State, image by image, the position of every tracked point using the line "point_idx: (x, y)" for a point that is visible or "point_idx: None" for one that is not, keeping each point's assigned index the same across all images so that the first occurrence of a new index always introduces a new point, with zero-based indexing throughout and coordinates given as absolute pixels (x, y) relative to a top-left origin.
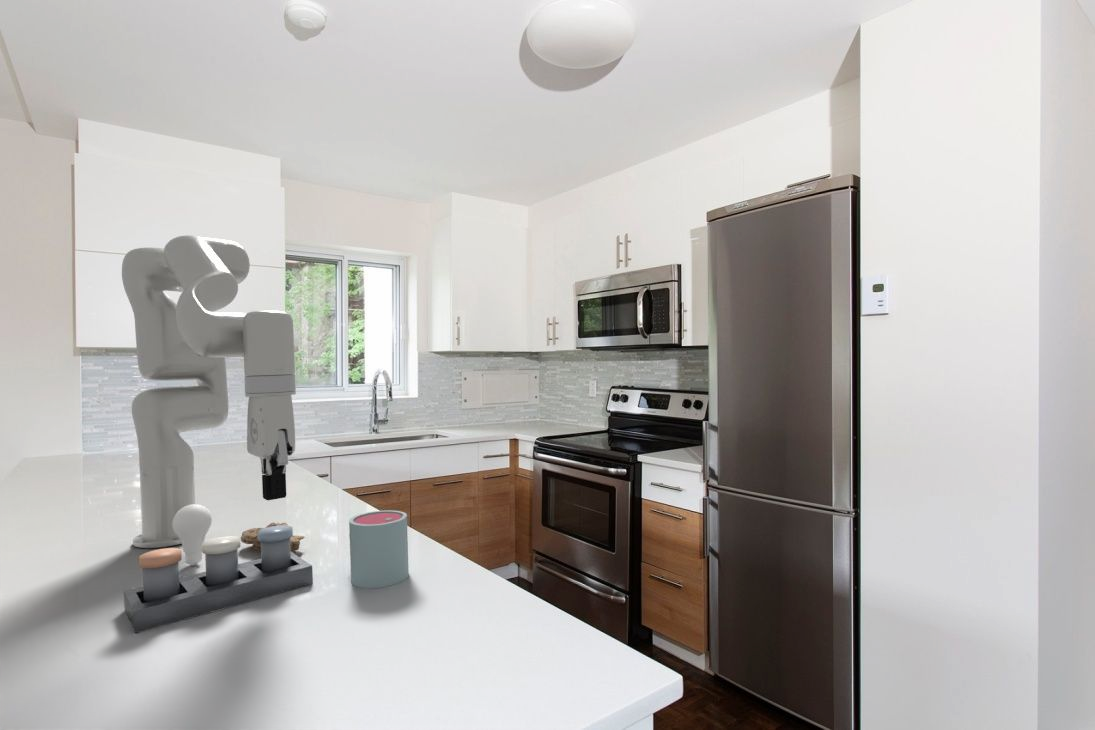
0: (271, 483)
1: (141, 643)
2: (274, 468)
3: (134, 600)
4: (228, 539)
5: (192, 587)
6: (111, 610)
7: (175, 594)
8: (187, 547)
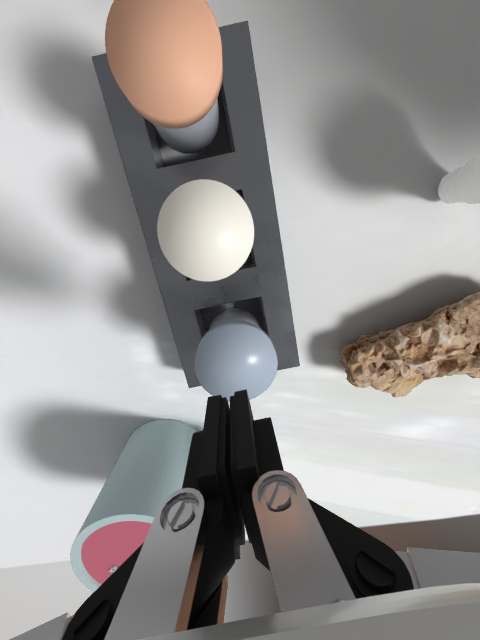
0: (194, 465)
1: (60, 101)
2: (112, 579)
3: None
4: (211, 252)
5: (183, 177)
6: (265, 27)
7: (168, 144)
8: (472, 163)
